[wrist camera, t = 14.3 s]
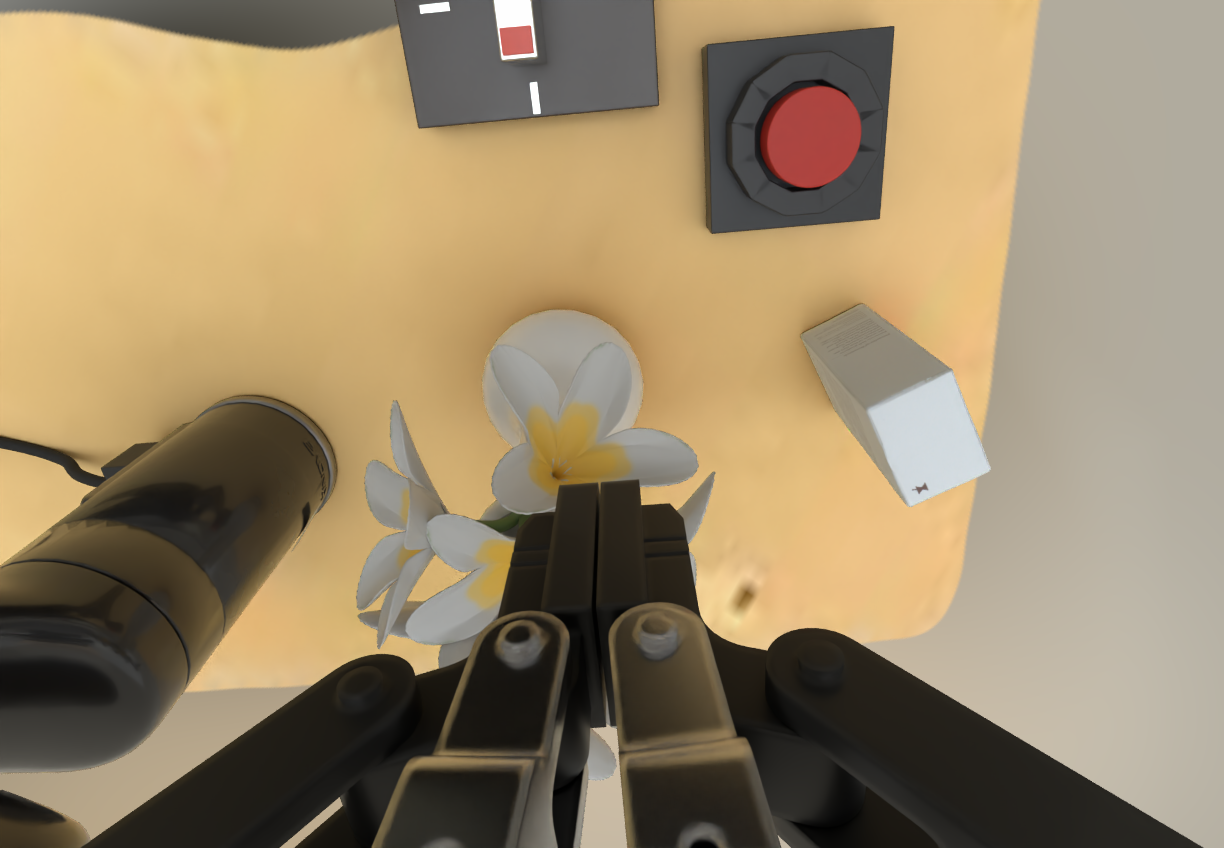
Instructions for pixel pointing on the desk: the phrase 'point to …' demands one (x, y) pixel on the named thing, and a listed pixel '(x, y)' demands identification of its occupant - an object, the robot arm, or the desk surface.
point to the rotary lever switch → (495, 91)
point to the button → (810, 136)
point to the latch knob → (520, 32)
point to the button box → (740, 101)
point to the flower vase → (518, 480)
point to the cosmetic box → (897, 404)
